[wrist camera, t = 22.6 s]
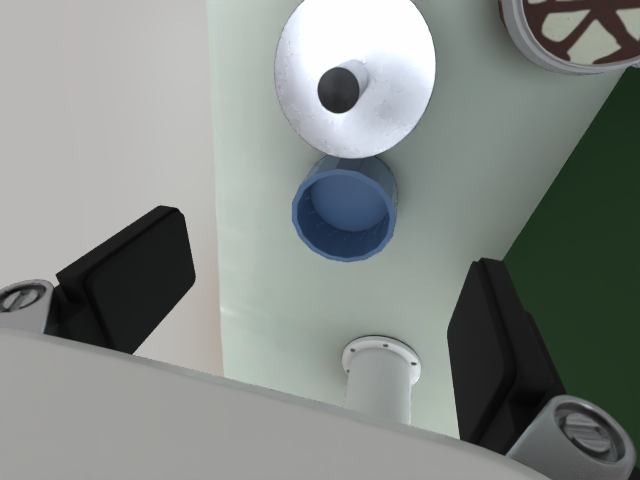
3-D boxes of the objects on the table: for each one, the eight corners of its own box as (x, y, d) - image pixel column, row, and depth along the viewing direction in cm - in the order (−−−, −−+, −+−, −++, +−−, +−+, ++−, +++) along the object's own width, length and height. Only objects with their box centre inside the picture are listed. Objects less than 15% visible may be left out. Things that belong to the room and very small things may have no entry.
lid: (415, 163, 27) (417, 194, 22) (279, 145, 29) (251, 171, 24) (455, -18, 21) (470, -32, 16) (277, -25, 23) (238, -40, 17)
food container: (451, 38, 29) (467, 42, 21) (490, -51, 26) (528, -88, 17) (586, 83, 29) (656, 106, 20) (644, -1, 25) (758, -14, 17)
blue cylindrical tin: (388, 239, 41) (385, 269, 36) (305, 225, 43) (291, 252, 38) (405, 155, 35) (404, 177, 30) (308, 143, 37) (292, 162, 32)
